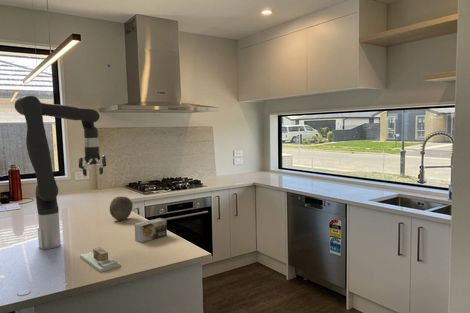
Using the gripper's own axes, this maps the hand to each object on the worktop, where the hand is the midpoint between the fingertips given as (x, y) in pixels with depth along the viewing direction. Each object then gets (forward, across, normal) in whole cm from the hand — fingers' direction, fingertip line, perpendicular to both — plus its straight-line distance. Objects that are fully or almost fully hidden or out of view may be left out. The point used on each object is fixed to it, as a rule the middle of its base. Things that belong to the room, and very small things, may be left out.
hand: (93, 175), depth 194 cm
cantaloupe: (+33, -23, -17) cm, 44 cm away
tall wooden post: (+32, +15, +47) cm, 59 cm away
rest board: (+33, +15, +43) cm, 56 cm away
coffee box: (+28, -10, +30) cm, 43 cm away
